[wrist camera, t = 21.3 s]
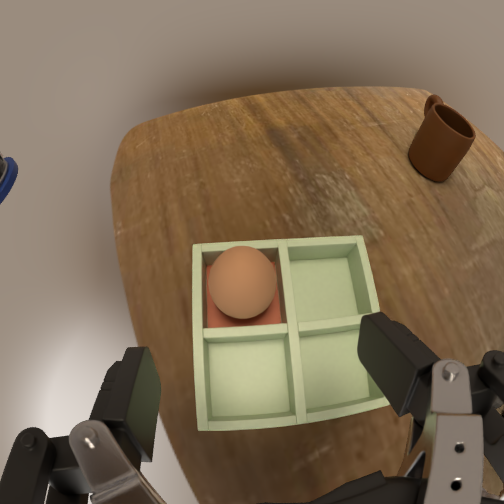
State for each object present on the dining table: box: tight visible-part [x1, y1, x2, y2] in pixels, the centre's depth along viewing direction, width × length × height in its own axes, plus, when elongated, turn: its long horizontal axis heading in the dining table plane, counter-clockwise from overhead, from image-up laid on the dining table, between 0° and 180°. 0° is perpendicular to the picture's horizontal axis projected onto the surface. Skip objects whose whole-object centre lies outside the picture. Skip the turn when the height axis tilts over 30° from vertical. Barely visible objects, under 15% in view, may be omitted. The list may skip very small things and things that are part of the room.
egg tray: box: [192, 235, 390, 431], centre depth 23 cm, size 15×15×4 cm
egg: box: [208, 246, 277, 319], centre depth 21 cm, size 5×5×8 cm
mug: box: [409, 95, 476, 182], centre depth 32 cm, size 12×8×9 cm, turn 174°
